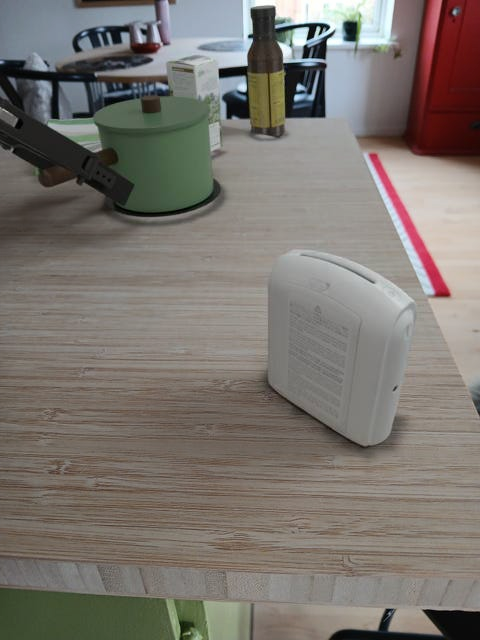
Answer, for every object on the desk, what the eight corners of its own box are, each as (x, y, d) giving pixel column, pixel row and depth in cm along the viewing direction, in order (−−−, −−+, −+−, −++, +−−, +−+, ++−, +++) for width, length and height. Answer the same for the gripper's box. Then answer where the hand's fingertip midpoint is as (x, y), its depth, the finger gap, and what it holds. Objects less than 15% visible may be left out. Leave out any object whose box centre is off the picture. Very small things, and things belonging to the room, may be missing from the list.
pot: (167, 164, 79) (156, 79, 72) (237, 186, 71) (232, 92, 64) (24, 220, 65) (-8, 121, 58) (91, 255, 57) (64, 145, 50)
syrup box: (196, 146, 89) (188, 53, 80) (224, 152, 86) (218, 56, 77) (175, 156, 85) (163, 60, 77) (202, 162, 82) (194, 63, 74)
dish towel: (137, 128, 99) (134, 109, 97) (147, 168, 81) (143, 146, 79) (46, 138, 97) (41, 119, 95) (34, 182, 79) (28, 159, 76)
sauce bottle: (282, 128, 95) (283, 2, 83) (287, 138, 90) (288, 6, 78) (248, 130, 95) (243, 5, 83) (250, 141, 90) (246, 9, 78)
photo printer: (404, 423, 37) (436, 278, 30) (371, 459, 35) (396, 310, 27) (294, 360, 43) (298, 226, 36) (259, 387, 41) (256, 249, 33)
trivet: (81, 209, 70) (79, 202, 69) (156, 170, 81) (155, 164, 80) (174, 234, 63) (173, 226, 62) (242, 187, 73) (242, 181, 73)
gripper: (-154, 89, 51) (26, 186, 69) (-47, 131, 37) (145, 238, 55) (-121, 22, 51) (51, 135, 69) (-2, 38, 37) (175, 175, 55)
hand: (93, 181), depth 62 cm, fingers open, 13 cm apart
